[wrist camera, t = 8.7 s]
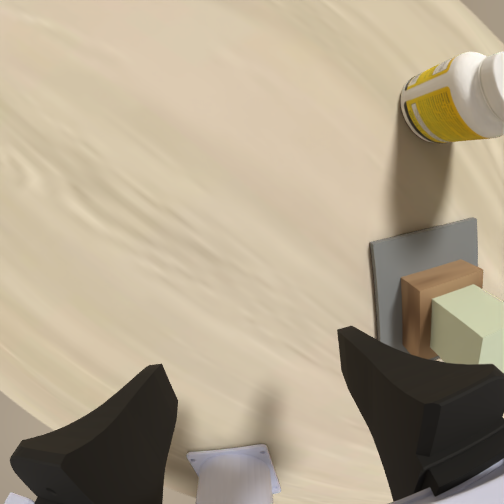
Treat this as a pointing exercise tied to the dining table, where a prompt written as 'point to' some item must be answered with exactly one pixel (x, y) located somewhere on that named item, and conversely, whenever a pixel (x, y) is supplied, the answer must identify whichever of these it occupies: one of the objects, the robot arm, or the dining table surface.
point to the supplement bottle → (457, 99)
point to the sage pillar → (468, 327)
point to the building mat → (415, 268)
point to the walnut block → (430, 300)
